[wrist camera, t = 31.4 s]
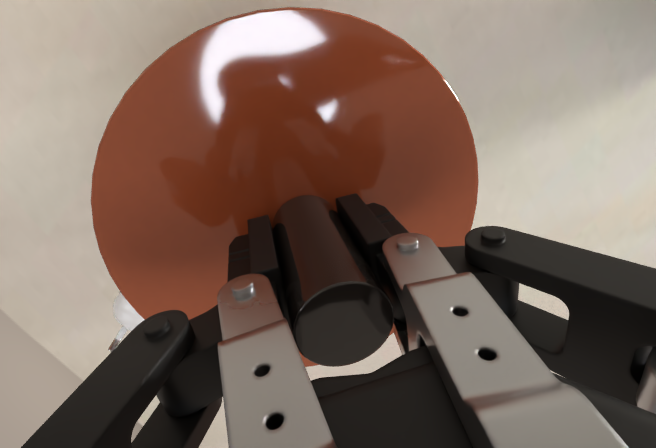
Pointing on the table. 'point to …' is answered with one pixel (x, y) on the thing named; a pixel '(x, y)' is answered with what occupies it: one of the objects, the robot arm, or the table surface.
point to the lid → (280, 168)
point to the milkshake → (124, 318)
